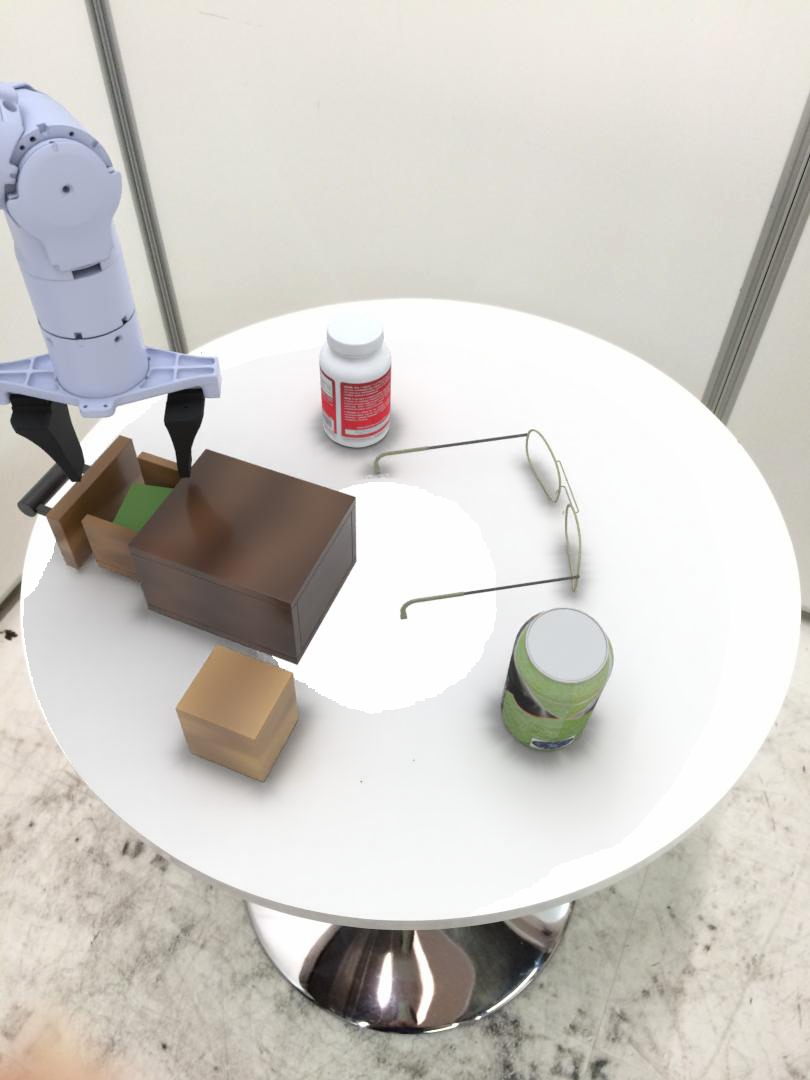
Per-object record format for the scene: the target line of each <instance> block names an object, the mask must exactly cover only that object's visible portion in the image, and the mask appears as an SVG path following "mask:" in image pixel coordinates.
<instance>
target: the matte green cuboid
mask: <svg viewBox="0 0 810 1080" xmlns="http://www.w3.org/2000/svg"><path fill="white" fill-rule="evenodd" d="M172 490H173V488H166V487H159V486H151V485H144V484H137V483H132V485H131V487H130V489H129V491H128V493H127V495H126V497H125V499H124V501H123V503H122V505H121V507H120V509H119V511H118V513H117V515H116V517H115V519H114V521H113V523H114V524H117V525H120V526H123V527H126V528H128V529H131V530H134V531H137V532H139V531H140V530H141V528H142V527H143V526H144V525H145V524H146V522H147V521H148V520H149V519H150V517H151V516H152V515H153V514H154V512H155V511H156V510H157V509H158V507H159V506H160V505H161V504H162V502H163V501H164V500H165V499H166V498H167V496H168V495H169V494H170V493H171V491H172Z"/></svg>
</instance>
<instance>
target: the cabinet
mask: <svg viewBox="0 0 810 1080" xmlns="http://www.w3.org/2000/svg"><path fill="white" fill-rule="evenodd" d="M356 500H357V497H356V496H354V495H351V494H347V493H345V492H342V491H339V490H335V489H332V488H330V487H326V486H323V485H320V484H317V483H314V482H312V481H311V482H310V481H307V480H304V479H301V478H299V477H295V476H292V475H289V474H286V473H283V472H280V471H276V470H273V469H270V468H268V467H264V466H262V465H258V464H255V463H251V462H249V461H246V460H242V459H240V458H236V457H233V456H230V455H227V454H224V453H220V452H217V451H214V450H211V449H209V448H205V450H204V451H202V453H201V454H200V455H199V457H198V458H197V459H196V460H195V461H194V463H192V466H191V476H190V477H189V478H182V479H181V480H180V481H179V483H178V484H177V485H176V486H175V488H174V489H173V490H172V491H171V493H170V494H169V495H168V496H167V498H166V499H165V500H164V501H163V502H162V504H161V505H160V506H159V507H158V509H157V510H156V511H155V512H154V514H153V515H152V516H151V517H150V519H149V520H148V521H147V522H146V524H145V525H144V526H143V527H142V528H141V530H140V531H139V532H138V533H137V535H136V536H135V537H134V538H133V540H132V541H131V542H130V543H129V545H128V548H129V551H130V554H131V557H132V560H133V563H134V566H135V569H136V572H137V575H138V578H139V581H140V582H139V581H138V582H139V584H140V587H141V590H142V594H143V596H144V600H145V602H146V605H147V609H148V610H149V611H152V612H154V613H156V614H157V613H158V614H160V615H163V616H165V617H168V618H171V619H173V620H176V621H179V622H181V623H184V624H187V625H190V626H193V627H195V628H197V629H200V630H203V631H204V632H208V633H211V634H214V635H216V636H218V637H221V638H224V639H228V640H230V641H232V642H235V643H236V644H237V643H238V644H241V645H243V646H245V647H248V648H250V649H253V650H257V651H259V652H262V653H264V654H267V655H270V656H273V657H275V658H278V659H280V660H282V661H286V662H288V663H291V664H294V665H296V666H298V665H299V663H300V661H301V660H302V658H303V656H304V654H305V653H306V651H307V649H308V648H309V646H310V644H311V643H312V640H313V639H314V637H315V635H316V634H317V632H318V630H319V628H320V626H321V625H322V623H323V621H324V619H325V618H326V617H327V614H328V612H329V611H330V609H331V607H332V605H333V604H334V602H335V600H336V598H337V596H338V594H339V593H340V591H341V590H342V588H343V586H344V584H345V583H346V581H347V579H348V578H349V575H350V574H351V572H352V570H353V568H354V566H355V565H356V564H357V502H356Z"/></svg>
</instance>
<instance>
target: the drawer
mask: <svg viewBox="0 0 810 1080" xmlns="http://www.w3.org/2000/svg"><path fill="white" fill-rule="evenodd" d="M181 479H182V478H180V475H179V473H178V468H177V461H173V460H171V459H167V458H164V457H161V456H158V455H155V454H152V453H149V452H146V451H141V452H140V454H139V455H137V451H136V448H135V444H134V440H133V439H132V437H131V438H130V437H127V436H124V435H121V434H119V435H118V436H117V437H116V438H115V439H114V440H113V441H112V442H111V443H110V445H109V446H108V447H107V448H106V449H104V451H103V452H102V453H101V454H100V456H99V457H98V458H97V459H96V460H95V461H94V462H93V463H92V464H91V465H90V464H86V463H85V464H84V468H83V473H82V478H81V482H74V484H73V485H72V486H71V487H70V488H69V490H68V491H66V493H65V494H64V495H63V496H62V497H61V498H60V499H59V500H58V501H57V502H56V504H55V505H54V506H52V507H50V506H47V504H48V503H49V502H50V501H51V500H52V499H53V497H54V496H55V495H56V494H57V493H58V492H59V491H60V490H61V489H62V488H63V487H64V486H65V485H66V484H67V482H69V481H70V479H69V478H68V477H67V475H66V474H65V473H64V471H63V470H62V469H61V468H60V467H59V466H58V464H57V463H56V462H55V463H54V464H53V465H52V466H51V467H50V468H49V470H47V472H45V473H44V475H42V477H41V478H40V479H38V480H37V482H36V483H34V485H32V487H31V488H30V489H29V490H28V491H27V492H26V493H25V494H24V495H23V496H22V497H21V498H20V499H19V500H18V502H17V503H16V506H17V508H18V510H19V511H20V512H21V513H22V514H23V515H25V516H26V517H30V518H34V517H36V516H37V515H40V516H43V517H46V520H47V523H48V525H49V528H50V529H51V532H52V534H53V538H54V539H55V542H56V543H57V546H58V548H59V550H60V551H59V552H60V554H61V556H62V558H63V561H64V562H65V565H66V566H67V567H71V568H74V569H76V570H80V569H81V568H82V567H83V566H84V565H85V563H86V562H87V561H88V559H89V558H90V557H91V556H92V555H93V557H94V559H95V562H96V564H97V567H99V568H101V569H105V570H106V571H109V572H112V573H115V574H117V575H121V576H124V577H126V578H128V579H132V580H134V581H137V582H139V583H140V581H139V578H138V575H137V572H136V569H135V566H134V563H133V560H132V557H131V554H130V551H129V548H128V545H129V543H130V542H131V541H132V540H133V538H134V537H135V536H136V535H137V533H138V532H137V531H134V530H131V529H128V528H126V527H123V526H120V525H117V524H114V523H113V521H114V519H115V517H116V515H117V513H118V511H119V509H120V507H121V505H122V503H123V501H124V499H125V497H126V495H127V493H128V491H129V489H130V487H131V485H132V483H137V484H144V485H151V486H159V487H166V488H173V489H174V488H175V486H176V485H177V484H178V483H179V481H180V480H181Z"/></svg>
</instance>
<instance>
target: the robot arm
mask: <svg viewBox="0 0 810 1080" xmlns="http://www.w3.org/2000/svg"><path fill="white" fill-rule="evenodd" d="M122 178H123V177H122V173H121V172H120V171H118V170H116V169H115V168H114V165H113V162H112V160H111V158H110V156H109V154H108V152H107V150H106V149H105V147H104V146H103V145H102V144H101V143H100V142H99V140H98V139H96V137H94V136H93V134H92V133H90V132H89V130H88V129H86V127H85V126H84V125H83V124H82V123H81V122H79V120H78V119H77V118H76V117H75V116H74V115H73V114H72V113H71V112H70V111H69V110H68V109H67V108H66V107H65V106H64V105H63V104H62V103H60V102H59V101H58V100H57V99H55V98H53V97H52V96H50V95H48V94H47V93H45V92H43V91H41V90H38V89H36V88H34V87H33V86H32V85H31V84H29V83H27V82H25V81H13V82H4V81H0V210H2V211H3V215H4V217H5V220H6V222H7V223H6V224H7V225H8V229H9V232H10V234H11V237H12V240H13V249H14V256H15V258H16V261H17V264H18V267H19V270H20V273H21V276H22V278H23V282H24V285H25V287H26V290H27V293H28V296H29V299H30V302H31V305H32V308H33V311H34V314H35V317H36V320H37V323H38V326H39V329H40V332H41V334H42V338H43V341H44V344H45V347H46V349H47V353H41V354H38V355H33V356H29V357H25V358H19V359H16V360H10V361H9V360H8V361H2V362H1V361H0V406H1V405H2V406H4V405H9V404H11V407H10V408H11V415H10V419H9V422H10V425H11V428H12V429H13V431H14V432H15V434H16V435H19V436H21V437H23V438H25V439H26V440H28V441H30V442H31V443H33V444H34V445H36V446H37V447H39V448H40V449H41V450H42V451H43V452H44V453H46V454H47V455H48V456H49V458H51V459H52V460H53V461H54V462H55V463H57V464H58V466H59V467H60V468H61V469H62V470H63V471H64V473H65V474H66V475H67V477H68V478H69V481H70V482H71V483H76V482H81V478H82V475H83V474H82V473H83V468H84V464H86V461H85V457H84V452H83V448H82V446H81V444H80V441H79V438H78V436H77V433H76V429H75V428H74V425H73V421H72V418H71V414H70V410H69V406H74V407H78V410H79V413H80V416H81V417H82V418H83V419H101V418H102V419H104V418H105V419H107V418H110V417H112V416H114V415H115V413H116V410H117V407H121V406H125V405H129V404H132V403H137V402H141V401H145V400H148V399H151V398H155V397H156V398H157V397H160V396H163V395H167V396H166V401H165V408H164V415H163V425H164V426H165V428H166V430H167V432H168V435H169V437H170V440H171V443H172V446H173V449H174V454H175V462H176V463H177V468H178V473H179V475H180V478H189V477H190V476H191V467H192V465H193V456H192V455H193V454H192V452H193V451H192V448H193V445H194V441H195V439H196V436H197V435H198V432H199V430H200V428H201V426H202V423H203V420H204V417H205V416H204V415H205V407H206V406H205V405H206V399H220V398H221V396H222V395H221V393H222V381H223V378H222V374H221V366H220V361H219V357H218V356H203V355H201V356H200V355H193V354H187V353H183V352H177V351H174V350H173V351H172V350H167V349H162V348H157V347H153V346H148V345H145V342H144V337H143V334H142V329H141V325H140V320H139V316H138V313H137V307H136V305H135V304H136V303H135V299H134V295H133V291H132V287H131V282H130V278H129V274H128V270H127V266H126V262H125V258H124V252H123V248H122V243H121V240H120V239H121V238H120V236H119V234H118V232H117V228H116V225H115V221H114V216H115V215H116V212H117V211H118V208H119V205H120V202H121V199H122V194H123V179H122Z"/></svg>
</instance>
